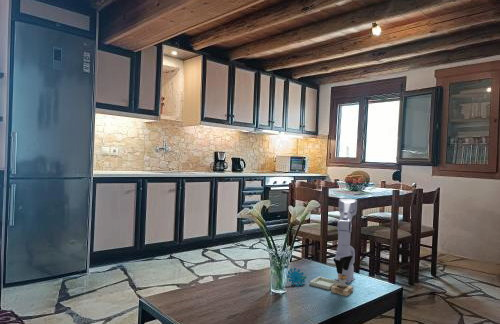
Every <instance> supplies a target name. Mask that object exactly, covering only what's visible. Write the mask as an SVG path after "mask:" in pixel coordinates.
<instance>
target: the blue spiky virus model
mask: <svg viewBox="0 0 500 324" xmlns="http://www.w3.org/2000/svg"><path fill="white" fill-rule="evenodd" d="M287 272H288V273H287V276H286V278H289V279H288V282H289V283H291V285H292V286H294V285H295V284H296V285H295V286H296V287H299V286H300V287H301V286H303V284H304V283H306V279H307V278H308V275H304V272H303V271H301V269H299V268H298V269H297V268H296V267H294V268H289V270H288V271H287Z"/></svg>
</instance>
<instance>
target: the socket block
mask: <svg viewBox="0 0 500 324" xmlns="http://www.w3.org/2000/svg"><path fill="white" fill-rule="evenodd" d="M330 292H331V293H333V294H336V293H337V295H340V296H345V297H348V296H349V295H351V294H353V292H354V286H353V285H348V284H345V289H343V288H339V282H338V283H337V284H335V285H333V286H332V287H331V290H330Z"/></svg>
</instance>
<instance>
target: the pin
mask: <svg viewBox="0 0 500 324" xmlns="http://www.w3.org/2000/svg"><path fill="white" fill-rule="evenodd" d="M346 278H347V276H346V275H342V274H340V275H339V280H338V283H339V288H343V289H345V285H346V283H347V282H346Z"/></svg>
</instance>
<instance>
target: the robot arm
mask: <svg viewBox="0 0 500 324" xmlns="http://www.w3.org/2000/svg"><path fill="white" fill-rule="evenodd" d="M357 211H358V200H357V199H351V198H350V199H349V198H338V212H339V219H338V220H337V227H336V229H337V248H336V251H335V252H334V253H335V257H334V258H332V259H333V262H334V264H335V268H336V273H337V277H335V278H334V280H336V281H339V275H340V274H342V275H346V276H347V278H346V282H345V283H347V284H349V283H351V282H352V281H354V280H355V279H356V277H354V274H355V266H354V263H355V260H356V259H355V257H356V250H355V248H354V247H353V246H351V235H352V234H351V233H352V219H353V216H356V215H357Z"/></svg>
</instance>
